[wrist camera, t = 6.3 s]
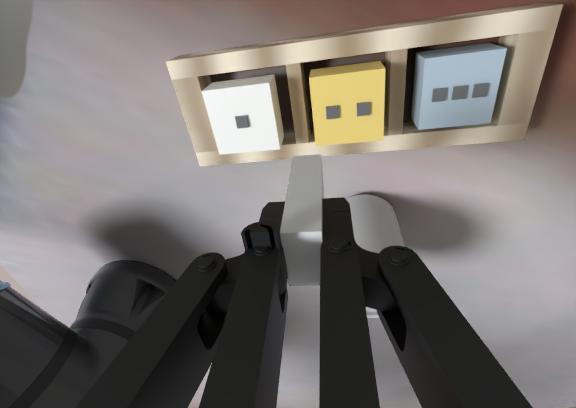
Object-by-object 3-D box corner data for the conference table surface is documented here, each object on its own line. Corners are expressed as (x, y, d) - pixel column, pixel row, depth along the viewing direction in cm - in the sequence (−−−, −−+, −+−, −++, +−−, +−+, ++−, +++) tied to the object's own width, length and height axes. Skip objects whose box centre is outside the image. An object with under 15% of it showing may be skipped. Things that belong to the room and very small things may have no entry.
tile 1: (228, 141, 31) (218, 155, 28) (212, 82, 28) (200, 91, 25) (284, 136, 30) (279, 150, 27) (274, 74, 27) (268, 83, 24)
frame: (209, 153, 35) (199, 166, 32) (179, 55, 29) (165, 61, 27) (508, 127, 30) (524, 139, 27) (539, 2, 24) (563, 4, 22)
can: (376, 248, 40) (392, 333, 30) (321, 230, 39) (318, 311, 29) (407, 202, 35) (437, 283, 25) (345, 181, 35) (351, 256, 25)
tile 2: (316, 133, 29) (315, 147, 27) (310, 69, 26) (308, 78, 24) (378, 127, 28) (383, 141, 26) (379, 60, 25) (385, 68, 23)
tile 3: (410, 118, 29) (419, 130, 26) (415, 52, 26) (425, 59, 23) (476, 111, 28) (491, 124, 25) (489, 42, 25) (508, 48, 22)
